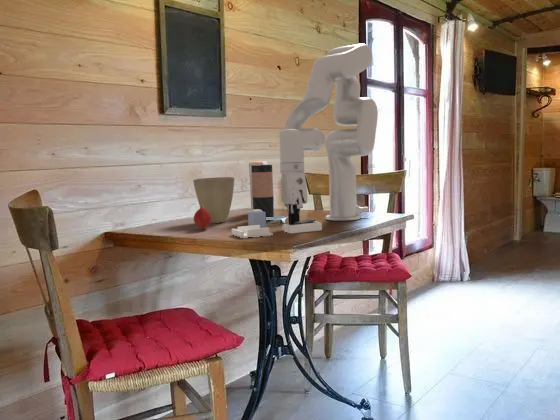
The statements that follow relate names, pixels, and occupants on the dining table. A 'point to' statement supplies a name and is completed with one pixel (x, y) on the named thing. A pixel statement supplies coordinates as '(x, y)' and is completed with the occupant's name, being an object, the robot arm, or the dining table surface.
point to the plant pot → (215, 196)
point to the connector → (257, 218)
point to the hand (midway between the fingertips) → (294, 225)
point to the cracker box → (251, 176)
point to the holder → (251, 231)
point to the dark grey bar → (304, 222)
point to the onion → (202, 218)
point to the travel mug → (263, 189)
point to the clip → (303, 227)
